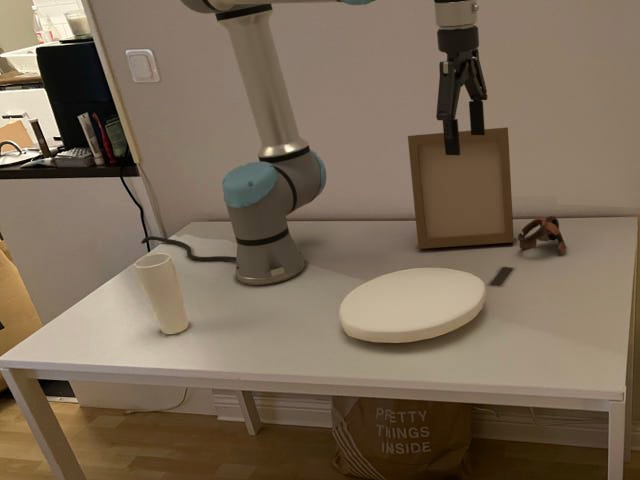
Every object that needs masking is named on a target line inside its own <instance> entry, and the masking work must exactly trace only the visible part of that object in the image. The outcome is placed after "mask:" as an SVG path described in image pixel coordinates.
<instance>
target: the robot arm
mask: <svg viewBox="0 0 640 480" xmlns="http://www.w3.org/2000/svg"><path fill="white" fill-rule="evenodd" d="M179 1H180V2H181V3H182V4H183V5H184V6H185V7H187V8H188V9H190V10H192V11H194V12H195V13H200V14H214V15H215V19H216V21H217V23H218V24H219V25H221V26H222V27H224V28H225V29H226V30H227V32H228V36H229V40H230V42H231V46H232V49H233V53H234V55H235V59H236V63H237V67H238V69H239V73H240V76H241V80H242V83H243V88H244V90H245V93H246V96H247V100H248V104H249V107H250V111H251V114H252V117H253V121H254V123H255V126H256V130H257V133H258V137H259V141H260V144H261V145H260V146H261V147H260V148H259V150H258V153H257V158H258V160H259V161H252V162H248V163H246V164H244V165H240V166H237V167H234V168H233V169H231V170H229V172H227V173H226V174H225V176H224V177H223V178H222V182H221V188H222V192H223V200H224V203H225V205H226V209H227V212H228V217H229V220H230V223H231V227H232V230H233V233H234V238H235V240H236V245H237V247H236V256H229V255H228V256H226V255H224V256H223V255H220V256H219V255H217V256H198V255H194V254H192V250H191V247H190V245H188V244H187V243H185V242H182V241H180V240H176V239H170V238H166V237H165V238H164V237H161V236H153V235H152V236H146V237H144V238H143V239H142V240H141V243H140V244H142V245H144V244H146V243H147V242H148V241H158V242H162V243H168V244H173V245H177V246H181V247H183V248H185V249H186V255H187V257H188V258H189V259H191V260H194V261H200V262H201V261H203V262H207V261H208V262H209V261H232V262H236V263H235V272H236V277H237V279H238V281H240V282H241V283H242V284H245V285H249V286H267V285H273V284H278V283H281V282H284V281H287V280H290V279H292V278H294V277H296V276H297V275H299V274H300V273H301V272H302V271H303V270H304V269H305V267H306V264H305V263H306V262H305V258H304V255H303V254H302V252H301V251H300V250H299V248H298V246H297V244H296V242H295V241H294V239H293V237H292V236H291V234H290V229H289V225H288V220H287V216H289V215H290V214H292V213H293V212H296V210H299V209H300V208H301V207H304V206H306V205H308V204H310V203H312V202H313V201H314V200H315V199H316V198H317V197H318V196H320V195H321V193H322V192H323V191H324V189H325V187H326V183H327V169H326V165H325V164H324V161H323V159H322V158H321V157H320V156H318V154H317V152H316V151H314V150H313V149H311V148H310V144H309V142H308V141H307V140H306V139H304V138H302V137H301V136H300V133H299V130H298V126H297V122H296V119H295V118H296V117H295V115H294V111H293V108H292V104H291V100H290V96H289V93H288V89H287V86H286V82H285V78H284V74H283V70H282V66H281V63H280V60H279V55H278V53H277V48H276V44H275V41H274V38H273V34H272V33H273V32H272V30H271V26H270V22H269V21H270V18H271V16H272V15H273V12H274V9H273V5H276V4H278V5H279V4H318V3H319V4H320V3H321V4H322V3H343V4H346V5H349V6H364V5H369V4H370V3H372V2H376V1H377V0H179ZM433 5H434V17H435V18H434V19H435V26H437V27H438V29H437V31H436V36H437V37H436V38H437V49H438V51H439V52H440V53H445V55H446V61H440V62H439V66H438V67H439V68H438V69H439V81H438V93H437V104H436V105H437V106H436V121H442V129H443V131H442V132H443V133H444V142H445V153H446V155H460V144H459V119H458V118H456V117H457V116H456V114H457V110H458V105H459V99H460V94H461V89H462V87H463V86H464V87H465V89H466V92H467V94H468V96H469V99H470V101H469V102H468V108H469V109H468V110H469V111H468V112H469V125H470V130H471V135H485V129H486V128H485V113H484V101H487V100H488V94H487V93H488V89H487V85H486V82H485V78H484V74H483V69H482V65H481V61H480V52H479V49H478V48H479V46H480V37H479V35H480V34H479V27H478V26H477V25H475V24H477V22H478V11H479V10H480V6H479V4H477V0H433Z"/></svg>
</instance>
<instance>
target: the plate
mask: <svg viewBox="0 0 640 480" xmlns="http://www.w3.org/2000/svg"><path fill="white" fill-rule="evenodd" d="M486 295H487V288H486V283H484V281H483V280H482V279H481V278H479V277H478V276H476V275H475V274H472V273H470V272H467V271H462V270H457V269H451V268H444V267H414V268H408V269H401V270H397V271H393V272H389V273H386V274H383V275H380V276H377V277H374V278H371V279H370V280H367V282H364V283H363V284H360V285H359V286H357V287H356V288H354V289H353V290H351V291H350V292H348V294H347V295H346V296H345V298H343V300H342V301H341V304H340V306H339V312H338V314H339V322H340V325H341V327H342V330H343V331H344V332H345V334H346V335H347V336H348V337H351V338H353V339H357V340H361V341H365V342H372V343H386V344H387V343H389V344H400V343H402V344H403V343H412V342H418V341H424V340H430V339H433V338H437V337H439V336H442V335H446V334H448V333H450V332H453V331H456V330H457V329H459V328H460V327H462V326H465V325H466V324H468V323H470V322H471V321H472V320H473V319H474V318H475V317H477V316H478V314H479V313H480V311H481V310H482V309H483V307H484V305H485V301H486V299H487V298H486Z"/></svg>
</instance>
